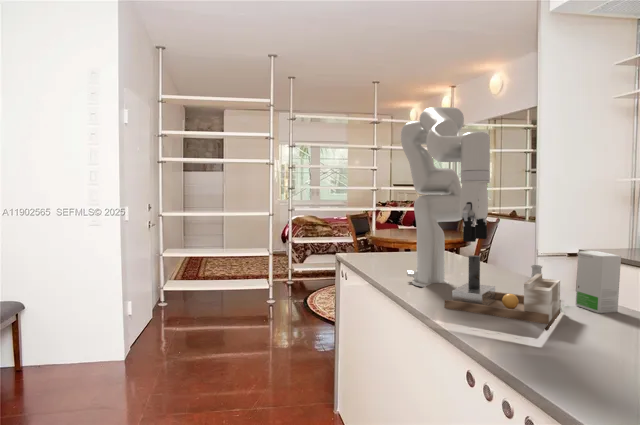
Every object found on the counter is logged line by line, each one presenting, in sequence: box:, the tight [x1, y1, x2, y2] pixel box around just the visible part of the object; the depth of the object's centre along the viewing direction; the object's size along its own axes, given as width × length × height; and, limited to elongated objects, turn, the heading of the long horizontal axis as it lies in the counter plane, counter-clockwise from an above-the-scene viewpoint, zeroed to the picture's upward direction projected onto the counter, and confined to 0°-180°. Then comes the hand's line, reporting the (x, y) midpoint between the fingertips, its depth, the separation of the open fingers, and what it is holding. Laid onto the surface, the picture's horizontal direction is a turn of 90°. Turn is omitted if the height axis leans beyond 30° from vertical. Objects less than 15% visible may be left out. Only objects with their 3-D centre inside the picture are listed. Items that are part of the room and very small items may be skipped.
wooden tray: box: [444, 273, 562, 331], centre depth 116 cm, size 25×18×10 cm
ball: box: [502, 293, 519, 309], centre depth 115 cm, size 4×4×4 cm
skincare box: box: [575, 250, 622, 314], centre depth 119 cm, size 8×7×16 cm
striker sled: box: [451, 255, 496, 305], centre depth 121 cm, size 8×12×13 cm, turn 143°
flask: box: [530, 264, 543, 279], centre depth 132 cm, size 7×7×10 cm
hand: (475, 240), depth 120 cm, fingers open, 9 cm apart
